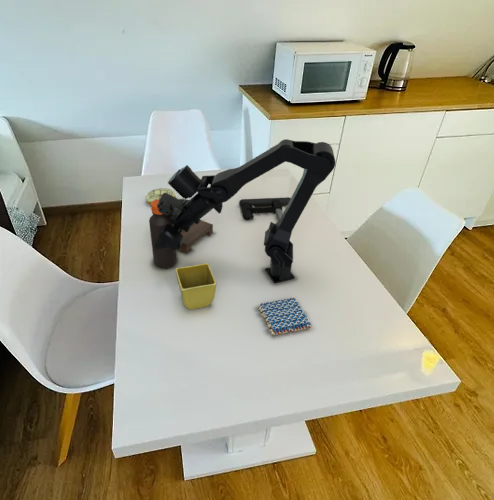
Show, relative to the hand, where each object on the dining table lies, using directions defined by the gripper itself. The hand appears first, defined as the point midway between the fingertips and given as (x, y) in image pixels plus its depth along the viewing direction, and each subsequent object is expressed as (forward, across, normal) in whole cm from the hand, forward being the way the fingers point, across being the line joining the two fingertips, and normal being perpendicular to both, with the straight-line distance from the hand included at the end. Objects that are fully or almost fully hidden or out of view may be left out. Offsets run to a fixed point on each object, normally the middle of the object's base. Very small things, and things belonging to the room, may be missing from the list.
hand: (158, 238), depth 111 cm
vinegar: (+5, 0, +7) cm, 9 cm away
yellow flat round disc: (+13, -36, -1) cm, 39 cm away
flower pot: (-4, +15, +16) cm, 22 cm away
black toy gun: (-15, -34, +27) cm, 46 cm away
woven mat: (-20, +17, +32) cm, 42 cm away
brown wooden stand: (+3, -14, +9) cm, 17 cm away
